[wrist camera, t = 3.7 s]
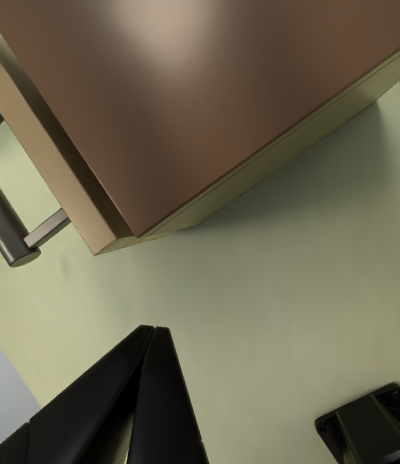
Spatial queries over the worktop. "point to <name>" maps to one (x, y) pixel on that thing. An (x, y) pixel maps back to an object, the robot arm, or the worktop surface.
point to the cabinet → (200, 89)
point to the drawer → (53, 175)
